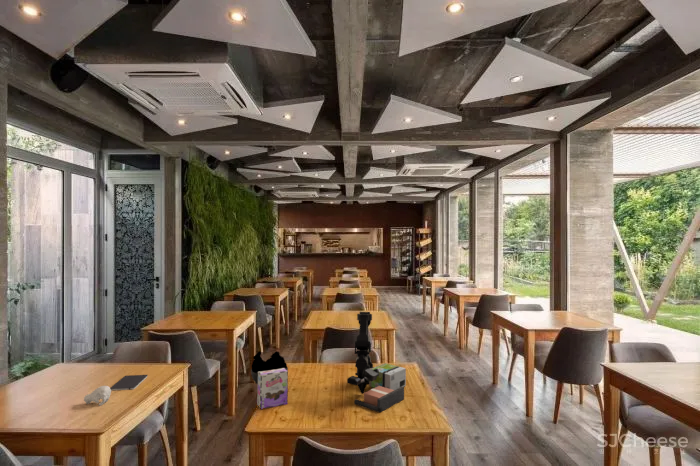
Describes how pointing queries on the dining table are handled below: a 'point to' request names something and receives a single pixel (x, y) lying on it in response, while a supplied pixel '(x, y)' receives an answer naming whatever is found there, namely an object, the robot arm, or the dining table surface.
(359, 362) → the robot arm
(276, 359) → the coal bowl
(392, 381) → the tea box
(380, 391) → the carton
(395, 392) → the display stand
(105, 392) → the grey rounded lump
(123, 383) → the notebook
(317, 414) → the dining table surface
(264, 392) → the candy box
